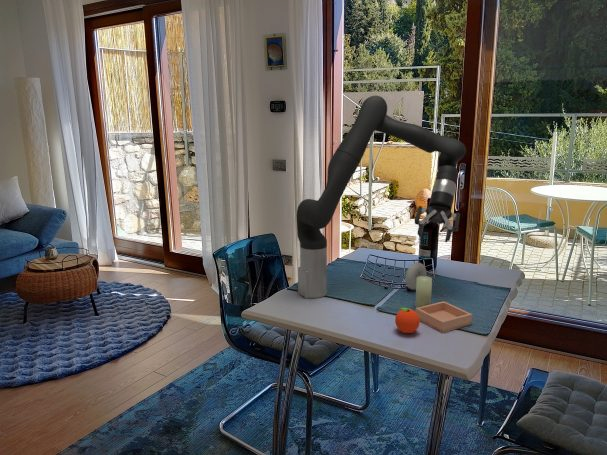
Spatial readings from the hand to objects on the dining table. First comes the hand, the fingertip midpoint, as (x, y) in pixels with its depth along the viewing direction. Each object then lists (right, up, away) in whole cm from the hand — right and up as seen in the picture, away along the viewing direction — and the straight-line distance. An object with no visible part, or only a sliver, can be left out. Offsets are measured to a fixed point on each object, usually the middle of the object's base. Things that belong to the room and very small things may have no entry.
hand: (432, 238), depth 158 cm
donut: (-3, -19, +13) cm, 23 cm away
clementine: (-13, -26, -20) cm, 36 cm away
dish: (-1, -25, -13) cm, 28 cm away
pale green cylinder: (-4, -22, -3) cm, 23 cm away
